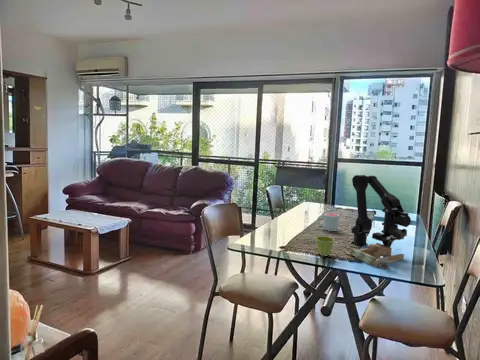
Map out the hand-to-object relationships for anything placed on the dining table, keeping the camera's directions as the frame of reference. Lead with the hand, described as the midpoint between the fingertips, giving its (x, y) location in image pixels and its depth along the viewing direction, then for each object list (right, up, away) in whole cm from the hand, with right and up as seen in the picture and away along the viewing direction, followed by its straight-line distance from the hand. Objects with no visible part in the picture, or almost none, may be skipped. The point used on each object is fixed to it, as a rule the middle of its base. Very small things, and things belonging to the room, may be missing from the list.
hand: (387, 250), depth 191 cm
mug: (-20, +5, +46) cm, 50 cm away
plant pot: (-34, -2, -2) cm, 34 cm away
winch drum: (-9, -5, -16) cm, 19 cm away
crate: (-5, -3, -2) cm, 6 cm away
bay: (-7, -3, -3) cm, 8 cm away
